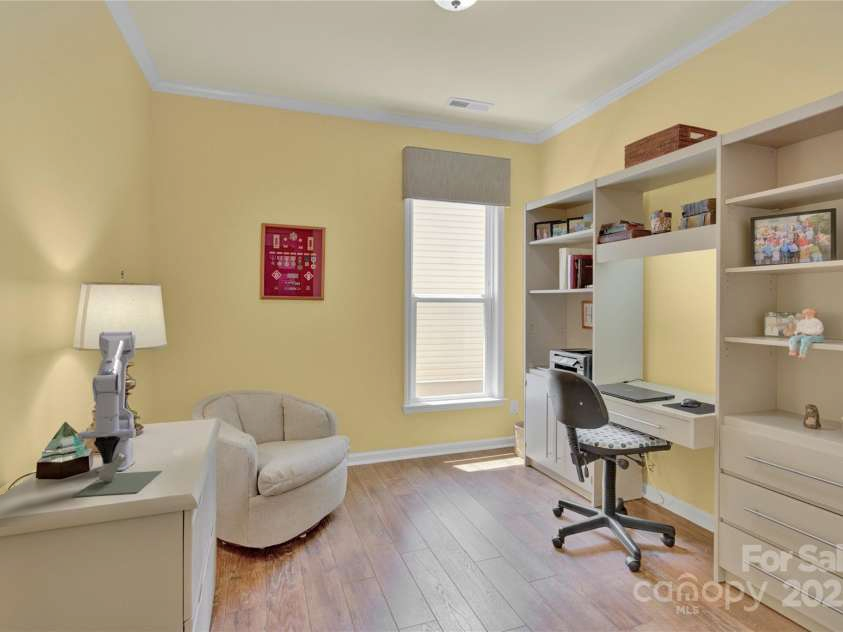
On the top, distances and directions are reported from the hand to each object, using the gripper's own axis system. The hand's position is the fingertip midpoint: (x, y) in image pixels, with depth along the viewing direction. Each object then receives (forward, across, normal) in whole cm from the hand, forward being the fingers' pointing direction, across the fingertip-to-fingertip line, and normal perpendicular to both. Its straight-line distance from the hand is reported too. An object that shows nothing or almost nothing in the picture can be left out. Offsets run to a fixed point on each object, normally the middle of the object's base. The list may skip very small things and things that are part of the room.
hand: (107, 462), depth 137 cm
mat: (+6, +4, -1) cm, 7 cm away
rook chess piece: (+4, -1, 0) cm, 5 cm away
